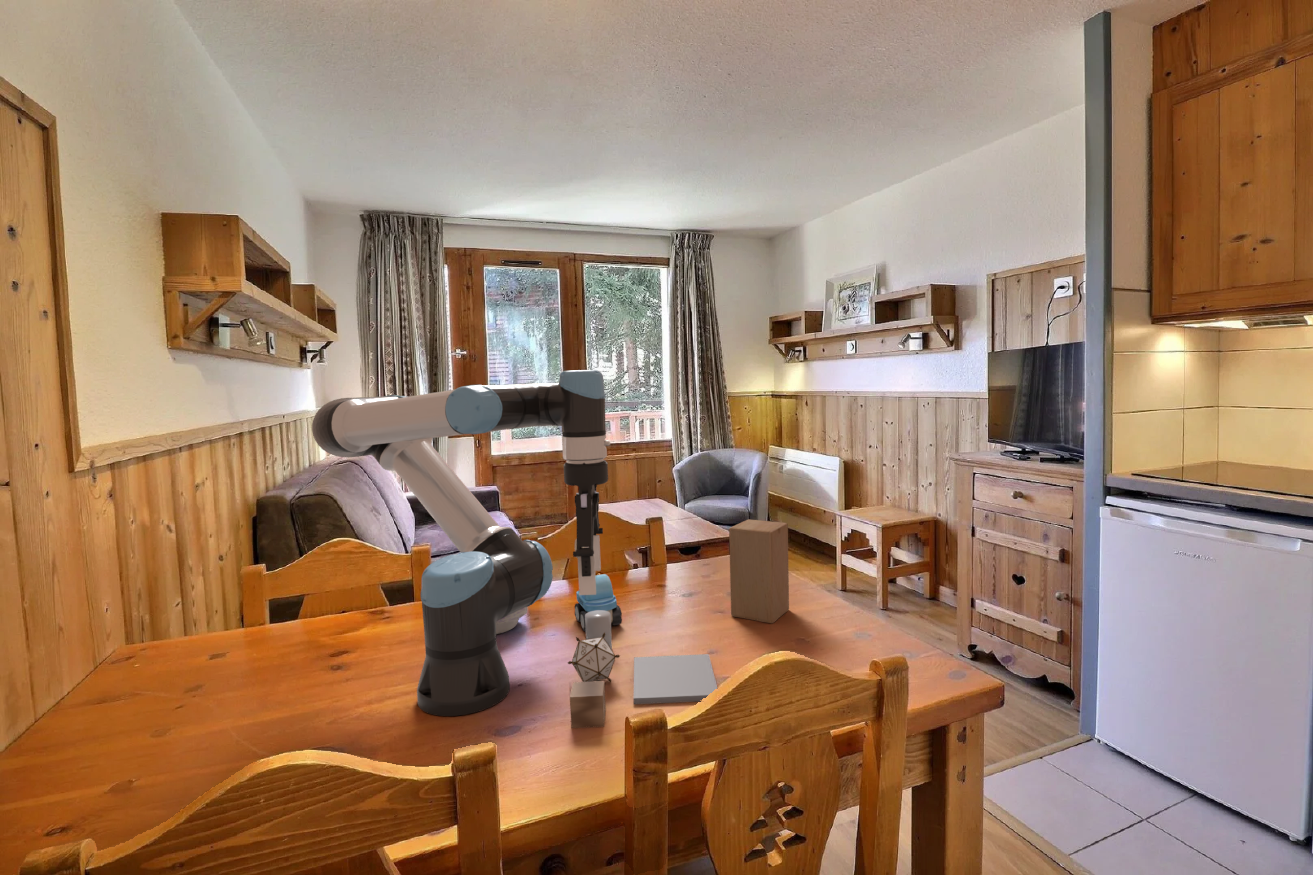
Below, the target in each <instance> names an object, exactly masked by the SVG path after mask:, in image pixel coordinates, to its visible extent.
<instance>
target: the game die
mask: <svg viewBox="0 0 1313 875" xmlns="http://www.w3.org/2000/svg"><path fill="white" fill-rule="evenodd" d="M604 637H605V633H603V635H602V637H598V638H592V639H586V638H585V639H581V640H580V638H579V637H578V636H575V638H576V641H577V642H578V643H577V645H576V647H575V648H576V649H575V651H574V654H573V657H572V660H569V661H568V662H567V664H568V665H572V666H573V668H574V670H575V672H577V674H578V676H579V678H580V680H581V682H590V681H604V680H607V682H609V683H612V679H611V678H610V674H611V672H612V668H613V667H614V663H615V661H616V660H615V659H616V658H617V659H619V658H620V657H621V655H619V654H615V652H614V651H613V650H612V649H613V648H612V649H611V648H610V646H609V645H608V643H607V642H606V640H605V639H604Z"/></svg>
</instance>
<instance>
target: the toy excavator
mask: <svg viewBox="0 0 1313 875" xmlns="http://www.w3.org/2000/svg"><path fill="white" fill-rule="evenodd" d="M582 548H585V547H582ZM576 550H577V538H576V539H575V540H574V551H576ZM575 558H576V559H578V557H575ZM595 576H596V595H579V590H577V591H576V601H577V602H578V603H575V604H574V616H575V619H576V621H577V623H580V626H581V627H582V631H584V632H586V627H585V614H586V613H588V612H591V611H595V610H604V611H608V612H610V614H611V626H618V625H621V624H622V623H623V618H622V614H623V612H622V609H621V607H620V605H618V602H617V598H616V595H614V590H613V585H612V581H611V579H610V576H608V574H606V573H604V574H597V575H596V574H595Z"/></svg>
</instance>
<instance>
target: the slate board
mask: <svg viewBox="0 0 1313 875" xmlns="http://www.w3.org/2000/svg"><path fill="white" fill-rule="evenodd" d="M717 688H718V686H717V681H716V676H715V673H714V668H713V666H712V661H711V658H710V654H708V653H703V654H681V655H680V654H679V655H678V654H677V655H676V654H675V655H661V656H660V655H658V656H657V655H655V656H654V655H653V656H652V655H651V656H639V657H638V656H637V657H636V656H635V657H633V697H632V698H633V705H647V704H649V705H650V704H652V705H653V704H667V703H668V704H669V703H671V704H673V703H691V702H692V703H693V702H701V701H700V700H702V699H703V698H706V697H707V696H708V695H709V694H710V693H712V692H713V691H714V690H715V689H717Z"/></svg>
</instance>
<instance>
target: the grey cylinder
mask: <svg viewBox="0 0 1313 875" xmlns="http://www.w3.org/2000/svg"><path fill="white" fill-rule="evenodd" d="M585 627H586V631H585V640H586V639H592V638H598V637H602V635H603V633H605V637H604V639H605V640H606V642H607V643H608V645H609V646H610V648H611V649H613V647H612V646H613V645H612V640H613V639H612V624H611V614H610V612H608V611H604V610H595V611H591V612H588V613H586V614H585Z"/></svg>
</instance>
